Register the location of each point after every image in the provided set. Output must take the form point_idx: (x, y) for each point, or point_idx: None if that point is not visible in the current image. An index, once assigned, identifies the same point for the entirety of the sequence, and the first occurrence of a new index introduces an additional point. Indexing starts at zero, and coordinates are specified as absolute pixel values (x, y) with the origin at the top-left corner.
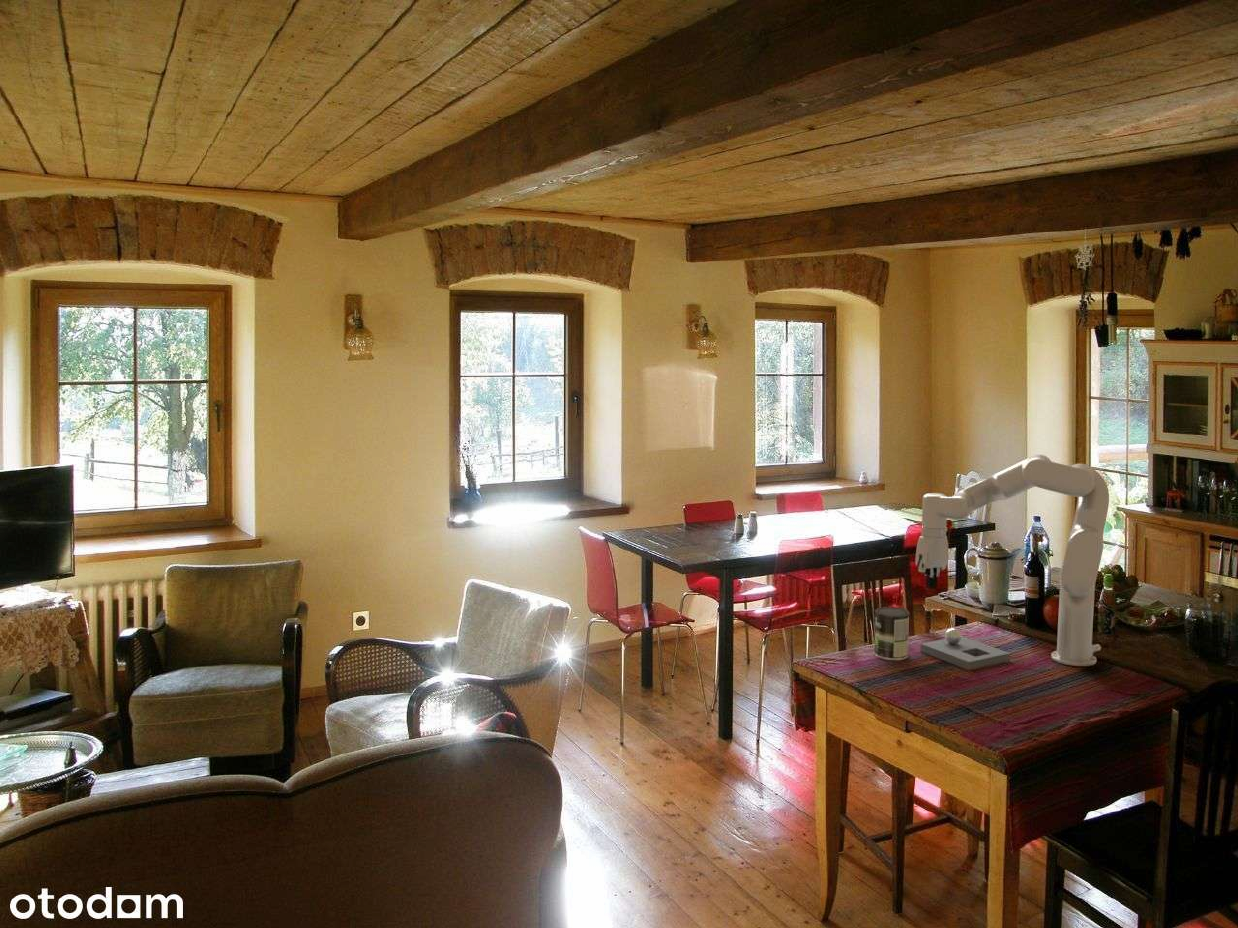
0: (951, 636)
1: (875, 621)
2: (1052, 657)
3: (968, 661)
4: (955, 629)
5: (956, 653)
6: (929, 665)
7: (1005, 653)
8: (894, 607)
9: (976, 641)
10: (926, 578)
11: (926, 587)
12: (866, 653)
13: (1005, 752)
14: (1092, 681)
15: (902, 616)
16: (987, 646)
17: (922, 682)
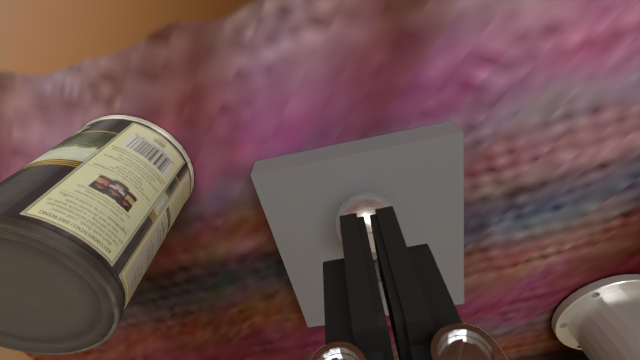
0: None
1: None
2: (565, 304)
3: (310, 324)
4: (374, 251)
5: (316, 275)
6: (225, 266)
7: None
8: (40, 244)
9: (460, 204)
10: (348, 292)
11: (340, 216)
12: (44, 132)
13: None
14: None
15: (67, 351)
16: (452, 250)
17: (162, 338)
